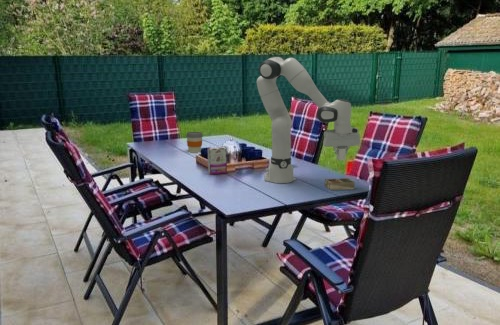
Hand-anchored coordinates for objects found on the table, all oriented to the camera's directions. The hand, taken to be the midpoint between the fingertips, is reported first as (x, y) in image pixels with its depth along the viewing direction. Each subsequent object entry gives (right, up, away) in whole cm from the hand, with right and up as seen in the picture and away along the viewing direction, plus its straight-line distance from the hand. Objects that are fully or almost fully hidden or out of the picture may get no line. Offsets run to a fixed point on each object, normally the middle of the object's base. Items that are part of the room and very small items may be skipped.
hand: (341, 154), depth 240 cm
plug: (0, -3, +1) cm, 3 cm away
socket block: (0, -19, +6) cm, 20 cm away
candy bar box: (-71, -12, +35) cm, 80 cm away
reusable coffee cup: (-93, +3, +100) cm, 137 cm away
